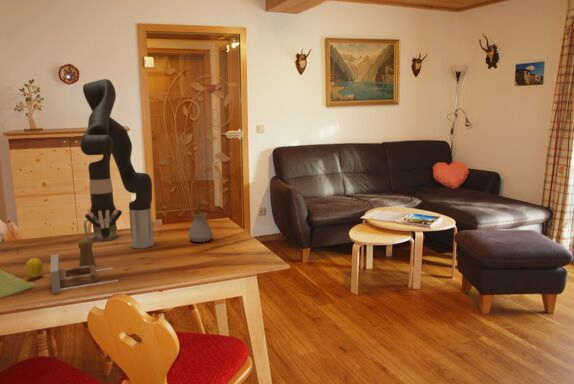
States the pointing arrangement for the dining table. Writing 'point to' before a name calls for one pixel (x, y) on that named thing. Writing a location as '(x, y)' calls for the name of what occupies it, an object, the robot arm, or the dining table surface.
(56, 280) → the backstop
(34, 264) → the lemon
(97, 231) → the mug
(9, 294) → the dining table surface
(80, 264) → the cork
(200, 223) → the coffee pot
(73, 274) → the socket block
